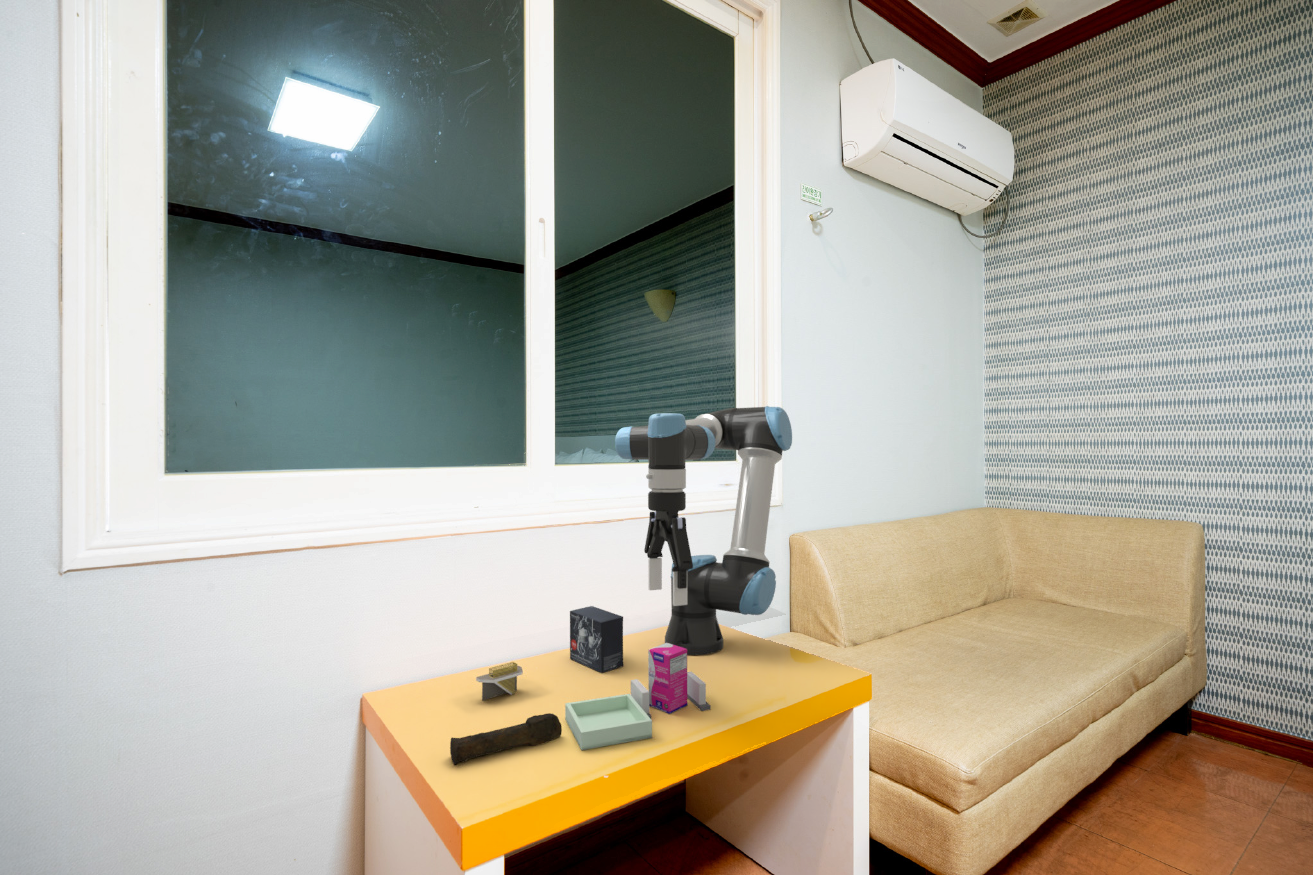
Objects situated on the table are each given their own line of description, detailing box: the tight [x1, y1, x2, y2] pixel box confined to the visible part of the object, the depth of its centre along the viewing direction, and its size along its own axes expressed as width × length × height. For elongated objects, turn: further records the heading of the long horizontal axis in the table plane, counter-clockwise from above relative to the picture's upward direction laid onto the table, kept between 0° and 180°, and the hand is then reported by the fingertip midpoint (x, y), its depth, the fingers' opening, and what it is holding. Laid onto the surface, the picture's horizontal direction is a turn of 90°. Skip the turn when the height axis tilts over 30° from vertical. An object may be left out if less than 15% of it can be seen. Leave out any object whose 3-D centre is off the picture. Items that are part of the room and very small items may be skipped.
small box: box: [569, 605, 625, 674], centre depth 146 cm, size 13×7×12 cm, turn 42°
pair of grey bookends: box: [630, 671, 712, 720], centre depth 122 cm, size 14×9×5 cm, turn 111°
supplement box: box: [647, 642, 689, 715], centre depth 122 cm, size 6×6×12 cm
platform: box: [475, 661, 523, 701], centre depth 127 cm, size 12×18×7 cm, turn 134°
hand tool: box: [449, 712, 563, 766], centre depth 104 cm, size 19×4×5 cm, turn 116°
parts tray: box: [564, 693, 653, 751], centre depth 112 cm, size 13×13×3 cm
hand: (666, 597), depth 122 cm, fingers open, 13 cm apart
